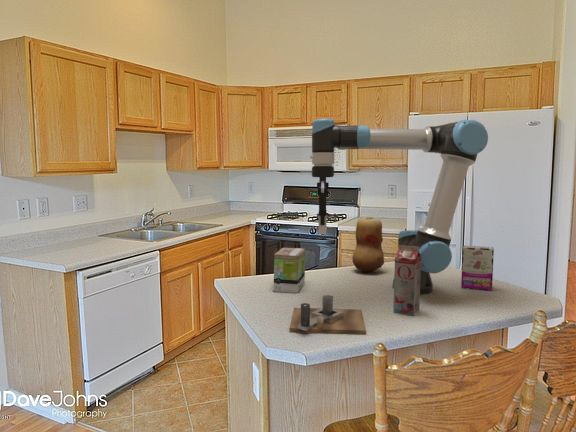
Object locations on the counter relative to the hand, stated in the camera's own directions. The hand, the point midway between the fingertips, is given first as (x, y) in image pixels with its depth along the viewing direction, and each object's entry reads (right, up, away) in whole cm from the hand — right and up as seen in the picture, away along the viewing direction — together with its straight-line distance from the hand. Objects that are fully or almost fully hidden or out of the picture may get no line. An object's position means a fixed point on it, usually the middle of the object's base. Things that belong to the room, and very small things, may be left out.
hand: (322, 234), depth 150 cm
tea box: (-11, -22, +22) cm, 33 cm away
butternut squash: (+24, -19, +46) cm, 55 cm away
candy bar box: (+62, -22, +20) cm, 69 cm away
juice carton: (+27, -26, -7) cm, 38 cm away
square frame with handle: (-3, -26, -20) cm, 32 cm away
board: (0, -27, -16) cm, 31 cm away
